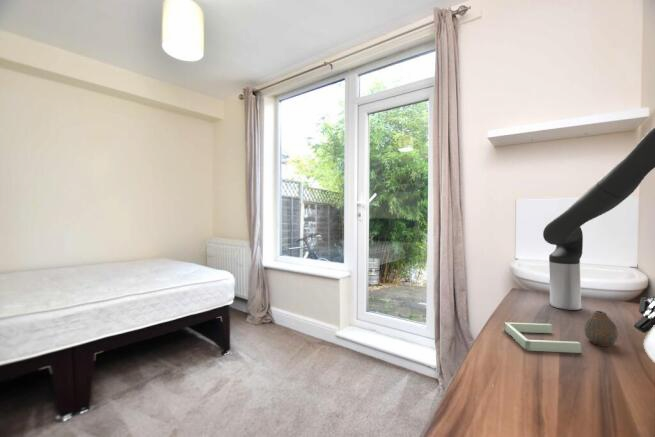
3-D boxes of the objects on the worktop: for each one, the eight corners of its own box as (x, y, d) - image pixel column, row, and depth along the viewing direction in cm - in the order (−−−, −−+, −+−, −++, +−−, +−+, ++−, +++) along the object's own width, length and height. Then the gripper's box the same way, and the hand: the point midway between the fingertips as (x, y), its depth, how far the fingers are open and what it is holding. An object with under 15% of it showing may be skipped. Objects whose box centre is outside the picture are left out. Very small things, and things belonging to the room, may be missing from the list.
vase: (609, 339, 83) (608, 309, 83) (624, 350, 77) (623, 317, 77) (579, 337, 85) (578, 307, 85) (592, 347, 79) (591, 315, 79)
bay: (504, 330, 92) (504, 322, 92) (550, 331, 89) (550, 323, 89) (526, 350, 78) (525, 341, 78) (581, 353, 76) (580, 343, 76)
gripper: (655, 270, 84) (608, 311, 86) (706, 280, 71) (648, 328, 73) (678, 289, 83) (630, 330, 85) (733, 302, 70) (674, 350, 72)
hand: (638, 329), depth 79 cm, fingers closed
